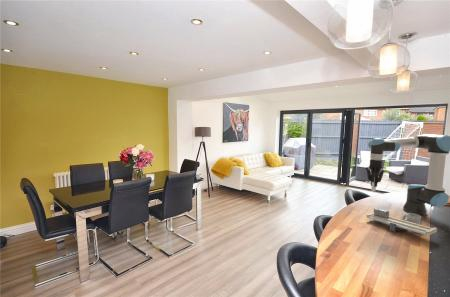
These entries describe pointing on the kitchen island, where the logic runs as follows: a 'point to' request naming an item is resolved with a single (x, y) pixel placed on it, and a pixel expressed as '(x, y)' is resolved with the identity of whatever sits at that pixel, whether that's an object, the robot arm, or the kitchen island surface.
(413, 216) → the cup
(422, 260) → the kitchen island surface
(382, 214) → the block
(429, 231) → the beam
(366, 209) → the kitchen island surface
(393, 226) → the fulcrum
